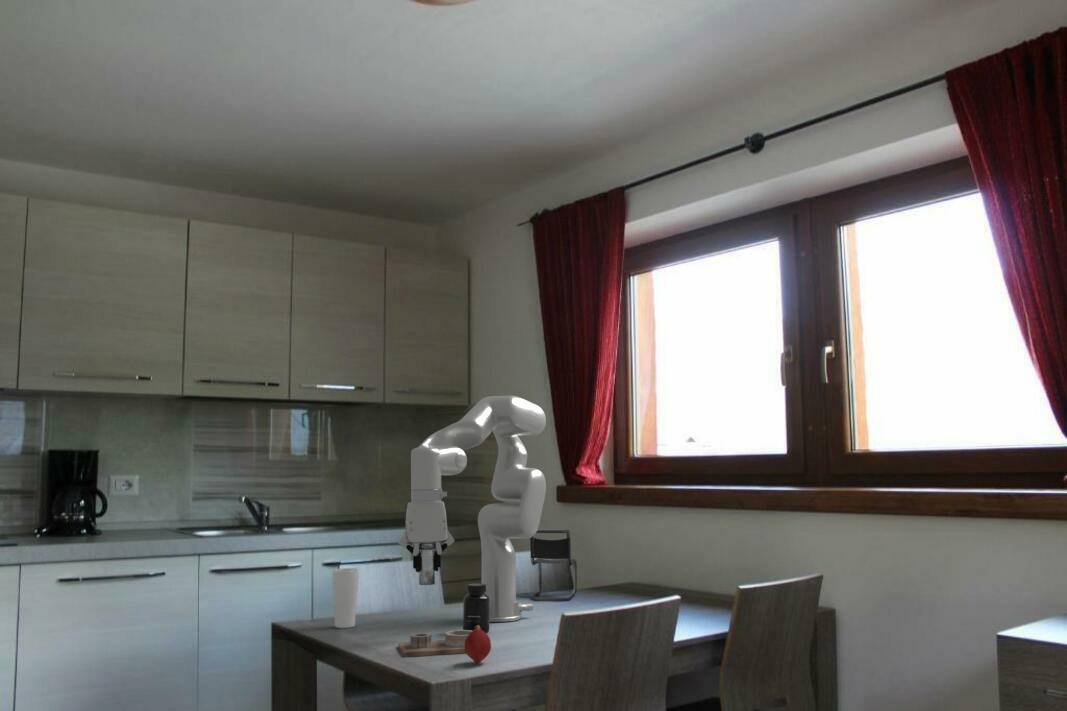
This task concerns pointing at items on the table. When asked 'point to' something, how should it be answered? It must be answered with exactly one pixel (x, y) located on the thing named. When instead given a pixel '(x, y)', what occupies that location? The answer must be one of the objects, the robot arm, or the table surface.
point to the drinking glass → (345, 596)
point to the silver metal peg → (427, 563)
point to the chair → (552, 551)
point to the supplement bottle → (476, 608)
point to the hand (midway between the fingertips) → (426, 570)
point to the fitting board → (434, 644)
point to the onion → (477, 645)
